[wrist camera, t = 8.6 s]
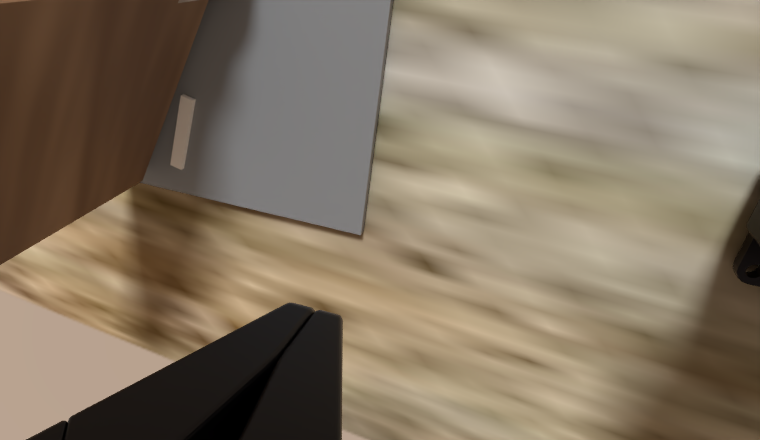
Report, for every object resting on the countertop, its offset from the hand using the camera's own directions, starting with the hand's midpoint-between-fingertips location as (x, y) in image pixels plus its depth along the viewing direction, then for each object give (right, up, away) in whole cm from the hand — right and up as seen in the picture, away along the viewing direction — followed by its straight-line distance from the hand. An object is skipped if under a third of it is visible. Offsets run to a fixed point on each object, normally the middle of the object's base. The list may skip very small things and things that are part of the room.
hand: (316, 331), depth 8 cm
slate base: (-6, +8, +11) cm, 15 cm away
